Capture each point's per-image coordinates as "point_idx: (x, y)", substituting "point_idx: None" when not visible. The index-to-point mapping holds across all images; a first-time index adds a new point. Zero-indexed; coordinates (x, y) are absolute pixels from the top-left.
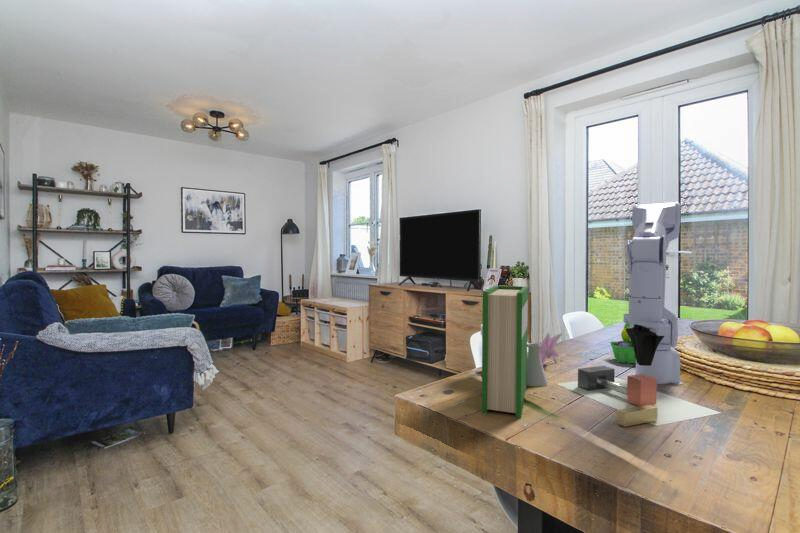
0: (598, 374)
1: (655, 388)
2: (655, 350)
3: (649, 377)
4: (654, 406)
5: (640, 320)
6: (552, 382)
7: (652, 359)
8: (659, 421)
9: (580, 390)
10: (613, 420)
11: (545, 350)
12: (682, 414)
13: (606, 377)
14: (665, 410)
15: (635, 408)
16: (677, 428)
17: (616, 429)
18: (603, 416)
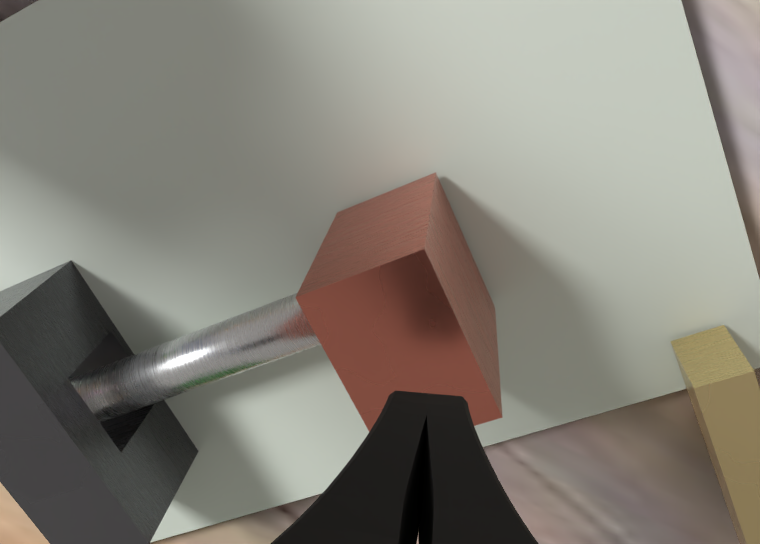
0: (106, 449)
1: (435, 225)
2: (518, 514)
3: (416, 307)
4: (732, 379)
5: None
6: (6, 518)
7: (475, 435)
8: (722, 309)
9: (197, 485)
10: (597, 471)
11: None
12: (615, 83)
13: (74, 365)
14: (533, 160)
15: (756, 505)
16: (741, 197)
17: (714, 509)
18: (540, 491)
